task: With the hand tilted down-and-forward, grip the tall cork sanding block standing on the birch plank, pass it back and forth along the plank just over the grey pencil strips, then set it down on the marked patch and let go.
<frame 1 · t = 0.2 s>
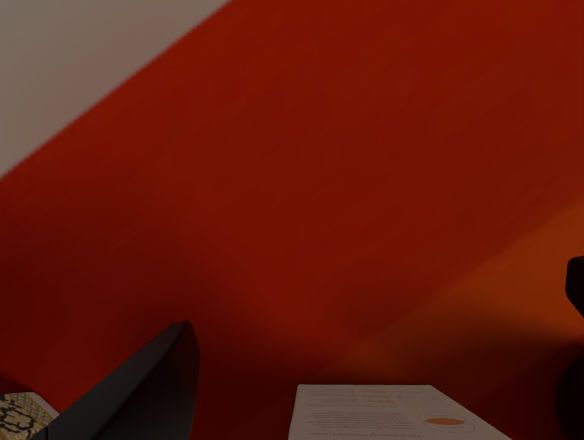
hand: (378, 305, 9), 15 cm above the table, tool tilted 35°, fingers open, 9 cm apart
small box: (366, 432, 22), on the table
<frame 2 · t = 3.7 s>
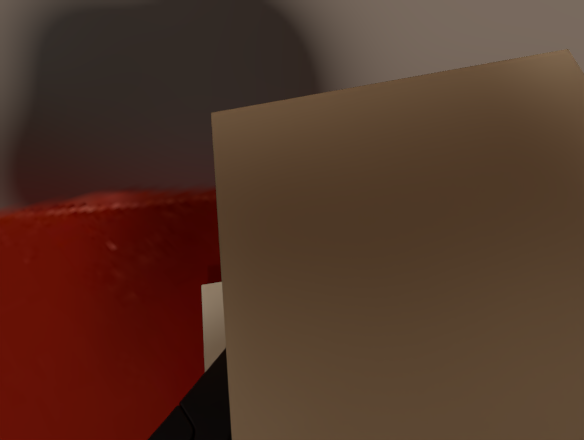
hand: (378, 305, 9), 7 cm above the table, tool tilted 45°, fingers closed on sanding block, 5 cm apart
sanding block: (369, 377, 14), point 1 cm above the table, touching gripper, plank
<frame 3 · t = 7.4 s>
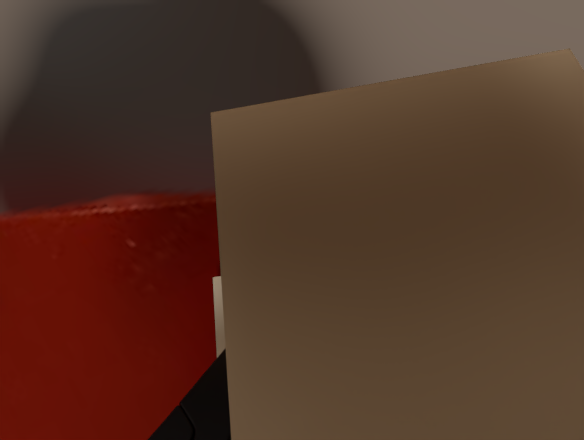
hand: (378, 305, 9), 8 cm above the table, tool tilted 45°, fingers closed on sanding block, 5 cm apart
sanding block: (369, 377, 14), point 3 cm above the table, touching gripper
when the fingers open (7 cm above the table, at t = 11.3 s): sanding block stays where it is, resting on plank.
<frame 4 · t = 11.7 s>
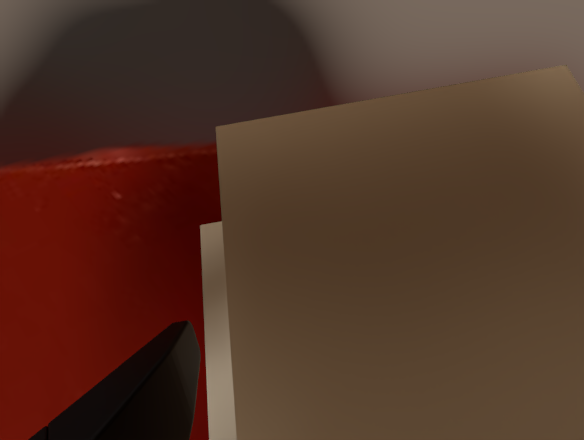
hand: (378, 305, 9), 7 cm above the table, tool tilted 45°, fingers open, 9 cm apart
sanding block: (369, 379, 14), point 1 cm above the table, touching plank
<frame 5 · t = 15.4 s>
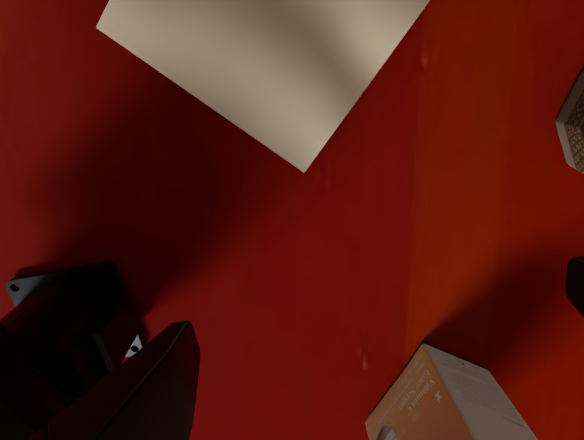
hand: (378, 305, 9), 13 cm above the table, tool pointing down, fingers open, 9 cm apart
small box: (422, 393, 27), on the table
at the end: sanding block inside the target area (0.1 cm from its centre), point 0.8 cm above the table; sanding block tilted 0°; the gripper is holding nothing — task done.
